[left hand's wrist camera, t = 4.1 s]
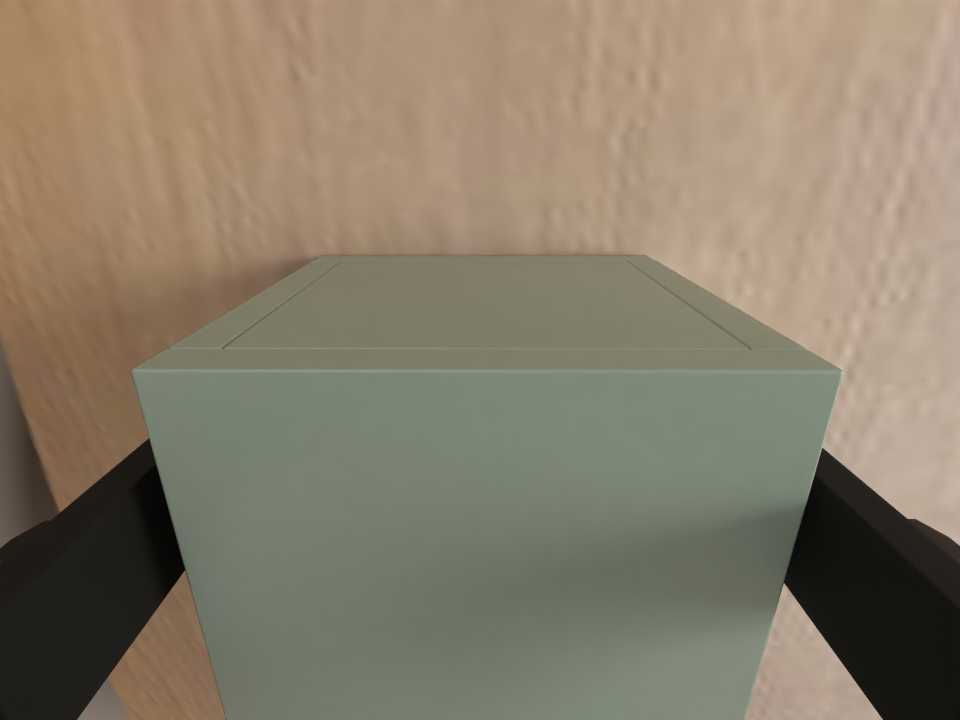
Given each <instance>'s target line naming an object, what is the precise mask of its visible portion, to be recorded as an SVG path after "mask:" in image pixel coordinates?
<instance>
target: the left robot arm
mask: <svg viewBox="0 0 960 720" xmlns="http://www.w3.org/2000/svg"><path fill="white" fill-rule="evenodd" d="M184 571H185V567H184V563H183V560H182V556H181V552H180V549H179V545H178V541H177V538H176V534H175V530H174V527H173V523H172V519H171V516H170V512H169V508H168V505H167V501H166V497H165V494H164V490H163V487H162V483H161V479H160V476H159V472H158V468H157V465H156V461H155V457H154V454H153V450H152V446H151V443H150V439H148V440H146V441H145V442H144V443H143V444H142V445H141V446H139V447H138V448H137V449H136V450H135V451H133V452H132V453H131V454H130V455H129V456H127V457H126V458H125V459H124V460H123V461H121V462H120V463H119V464H118V465H117V466H115V467H114V468H113V469H112V470H111V471H109V472H108V473H107V474H106V475H105V476H103V477H102V478H101V479H100V480H99V481H97V482H96V483H95V484H94V485H93V486H91V487H90V488H89V489H88V490H87V491H85V492H84V493H83V494H82V495H81V496H79V497H78V498H77V499H76V500H75V501H73V502H72V503H71V504H70V505H69V506H68V507H66V508H65V509H64V510H63V511H62V512H60V513H59V514H58V515H57V516H56V517H54V518H53V519H52V520H51V521H44V522H42V523H40V524H39V525H37V526H35V527H33V528H31V529H29V530H28V531H26V532H24V533H22V534H20V535H19V536H17V537H15V538H13V539H11V540H10V541H9V542H8V543H6V544H5V545H4V546H3V547H1V548H0V720H77V719H78V717H79V716H80V715H81V713H82V712H83V711H84V709H85V708H86V706H87V705H88V704H89V702H90V701H91V699H92V698H93V697H94V695H95V694H96V693H97V691H98V690H99V688H100V687H101V686H102V684H103V683H104V681H105V680H106V679H107V677H108V676H109V675H110V673H111V672H112V670H113V669H114V668H115V666H116V665H117V664H118V662H119V661H120V659H121V658H122V657H123V655H124V654H125V652H126V651H127V650H128V648H129V647H130V646H131V644H132V643H133V641H134V640H135V639H136V637H137V636H138V634H139V633H140V632H141V630H142V629H143V628H144V626H145V625H146V623H147V622H148V621H149V619H150V618H151V616H152V615H153V614H154V612H155V611H156V610H157V608H158V607H159V605H160V604H161V603H162V601H163V600H164V598H165V597H166V596H167V594H168V593H169V592H170V590H171V589H172V587H173V586H174V585H175V583H176V582H177V580H178V579H179V578H180V576H181V575H182V574H183V572H184ZM784 583H785V585H786V586H787V587H788V589H789V590H790V592H791V593H792V594H793V596H794V597H795V598H796V600H797V601H798V603H799V604H800V605H801V607H802V608H803V610H804V611H805V612H806V614H807V615H808V616H809V618H810V619H811V621H812V622H813V623H814V625H815V626H816V628H817V629H818V630H819V632H820V633H821V634H822V636H823V637H824V639H825V640H826V641H827V643H828V644H829V646H830V647H831V648H832V650H833V651H834V652H835V654H836V655H837V657H838V658H839V659H840V661H841V662H842V664H843V665H844V666H845V668H846V669H847V670H848V672H849V673H850V675H851V676H852V677H853V679H854V680H855V681H856V683H857V684H858V686H859V687H860V688H861V690H862V691H863V693H864V694H865V695H866V697H867V698H868V699H869V701H870V702H871V704H872V705H873V706H874V708H875V709H876V711H877V712H878V713H879V715H880V716H881V717H882V719H883V720H960V546H959V545H958V544H957V543H955V542H954V541H953V540H952V539H950V538H949V537H947V536H945V535H944V534H942V533H940V532H938V531H936V530H935V529H933V528H931V527H929V526H927V525H925V524H924V523H922V522H920V521H918V520H916V519H907V518H906V517H904V516H903V515H902V514H901V513H900V512H898V511H897V510H896V509H895V508H894V507H892V506H891V505H890V504H889V503H888V502H886V501H885V500H884V499H883V498H882V497H881V496H879V495H878V494H877V493H876V492H875V491H873V490H872V489H871V488H870V487H869V486H867V485H866V484H865V483H864V482H863V481H861V480H860V479H859V478H858V477H857V476H855V475H854V474H853V473H852V472H851V471H849V470H848V469H847V468H846V467H845V466H843V465H842V464H841V463H840V462H839V461H837V460H836V459H835V458H834V457H833V456H831V455H830V454H829V453H828V452H827V451H825V450H824V449H823V448H822V450H821V454H820V457H819V461H818V464H817V468H816V471H815V475H814V478H813V482H812V485H811V489H810V492H809V496H808V499H807V503H806V506H805V510H804V513H803V517H802V520H801V524H800V527H799V531H798V534H797V538H796V542H795V545H794V549H793V552H792V556H791V559H790V563H789V566H788V570H787V573H786V577H785V580H784Z"/></svg>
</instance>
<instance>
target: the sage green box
mask: <svg viewBox="0 0 960 720" xmlns="http://www.w3.org/2000/svg"><path fill="white" fill-rule="evenodd" d="M131 373H132V377H133V380H134V384H135V388H136V391H137V395H138V399H139V402H140V406H141V410H142V413H143V417H144V421H145V424H146V428H147V432H148V435H149V439H150V443H151V446H152V450H153V454H154V457H155V461H156V465H157V468H158V472H159V476H160V479H161V483H162V487H163V490H164V494H165V497H166V501H167V505H168V508H169V512H170V516H171V519H172V523H173V527H174V530H175V534H176V538H177V541H178V545H179V549H180V552H181V556H182V560H183V563H184V567H185V571H186V574H187V578H188V582H189V585H190V589H191V593H192V596H193V600H194V604H195V607H196V611H197V615H198V618H199V622H200V626H201V629H202V633H203V637H204V640H205V644H206V648H207V651H208V655H209V659H210V662H211V666H212V670H213V673H214V677H215V681H216V684H217V688H218V692H219V695H220V699H221V703H222V706H223V710H224V714H225V717H226V720H745V717H746V714H747V710H748V707H749V703H750V700H751V696H752V693H753V689H754V686H755V682H756V678H757V675H758V671H759V668H760V664H761V661H762V657H763V654H764V650H765V647H766V643H767V640H768V636H769V633H770V629H771V626H772V622H773V619H774V615H775V612H776V608H777V605H778V601H779V598H780V594H781V591H782V587H783V584H784V580H785V577H786V573H787V570H788V566H789V563H790V559H791V556H792V552H793V549H794V545H795V542H796V538H797V534H798V531H799V527H800V524H801V520H802V517H803V513H804V510H805V506H806V503H807V499H808V496H809V492H810V489H811V485H812V482H813V478H814V475H815V471H816V468H817V464H818V461H819V457H820V454H821V450H822V447H823V443H824V440H825V436H826V433H827V429H828V426H829V422H830V419H831V415H832V412H833V408H834V405H835V401H836V397H837V394H838V390H839V387H840V383H841V380H842V376H843V371H842V370H841V369H839V368H838V367H836V366H834V365H833V364H831V363H829V362H827V361H826V360H824V359H822V358H821V357H819V356H817V355H816V354H814V353H812V352H810V351H808V350H806V348H804V347H802V346H801V345H799V344H797V343H796V342H794V341H792V340H791V339H789V338H787V337H785V336H784V335H782V334H780V333H779V332H777V331H775V330H774V329H772V328H770V327H768V326H767V325H765V324H763V323H762V322H760V321H758V320H756V319H755V318H753V317H751V316H750V315H748V314H746V313H745V312H743V311H741V310H739V309H738V308H736V307H734V306H733V305H731V304H729V303H727V302H726V301H724V300H722V299H721V298H719V297H717V296H716V295H714V294H712V293H710V292H709V291H707V290H705V289H704V288H702V287H700V286H698V285H697V284H695V283H693V282H692V281H690V280H688V279H687V278H685V277H683V276H681V275H680V274H678V273H676V272H675V271H673V270H671V269H669V268H668V267H666V266H664V265H663V264H661V263H659V262H658V261H655V260H653V259H651V258H650V257H648V256H646V255H322V256H320V257H319V258H317V259H315V260H314V261H312V262H310V263H308V264H307V265H305V266H303V267H302V268H300V269H298V270H297V271H295V272H293V273H292V274H290V275H288V276H287V277H285V278H283V279H282V280H280V281H279V282H277V283H275V284H274V285H272V286H270V287H269V288H267V289H265V290H264V291H262V292H260V293H259V294H257V295H255V296H254V297H252V298H250V299H249V300H247V301H245V302H244V303H242V304H240V305H239V306H237V307H235V308H234V309H232V310H230V311H229V312H227V313H226V314H224V315H222V316H221V317H219V318H217V319H216V320H214V321H212V322H211V323H209V324H207V325H206V326H204V327H202V328H201V329H199V330H197V331H196V332H194V333H192V334H191V335H189V336H187V337H186V338H184V339H182V340H181V341H179V342H177V343H176V344H174V345H173V346H171V347H169V349H165V350H163V351H162V352H160V353H158V354H157V355H155V356H153V357H152V358H150V359H148V360H147V361H145V362H143V363H142V364H140V365H138V366H137V367H135V368H133V369H132V372H131Z"/></svg>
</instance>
